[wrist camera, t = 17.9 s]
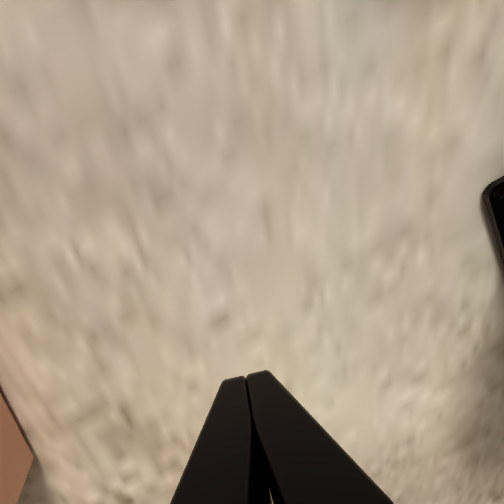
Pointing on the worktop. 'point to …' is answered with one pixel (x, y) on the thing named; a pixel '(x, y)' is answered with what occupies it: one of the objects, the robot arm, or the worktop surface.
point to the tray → (12, 457)
